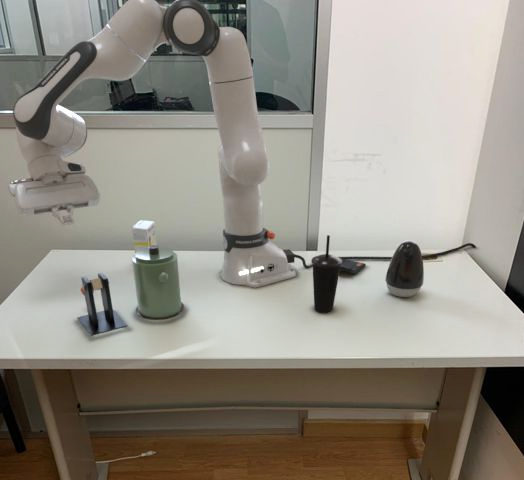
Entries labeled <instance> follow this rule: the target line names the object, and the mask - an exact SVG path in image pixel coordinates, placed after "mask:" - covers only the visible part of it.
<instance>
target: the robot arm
mask: <svg viewBox="0 0 524 480" xmlns="http://www.w3.org/2000/svg"><path fill="white" fill-rule="evenodd" d="M163 44H169V45H171V46H172V47H174V49H175V50H177V51H179V52H181V53H183V54H189V55H195V56H201V57H202V59H203V61H204V63H205V66H206V72H207V77H208V82H209V90H210V95H211V102H212V108H213V109H212V110H213V114H214V119H215V122H216V126H217V130H218V134H219V137H220V141H221V142H220V143H219V145H218V147H217V148H218V149H217V159H218V170H219V179H220V187H221V194H222V200H223V201H222V203H223V225H224V227H223V229H222V246H223V251H224V252H223V262H222V269H221V272H220V278H221V279H222V280H223V281H224V282H226V283H229V284H232V285H238V286H248V287H250V288H259V287H263V286H266V285H270V284H274V283H277V282H281V281H285V280H289V279H292V278H294V277H296V269H295V268H294V267H293V266H292V265H291V264H293V263H295V259H296V258H297V259H299V260H301V262H302V266H303V267H304V268H305V269H310V268H313V264H312V263H311V264H310V265H307V263H306V260H305V258H304V256H301V255H299V254H296V253H294V252H293V251H292V250H291V249H282V248H280V247H278V245H277V244H275V243H274V242H272V240H274V239H275V238H276V237H275V236H276V233H274V231H273V232H272V231H271V230H269V229H267V228H265V227H264V201H263V197H262V191H261V190H262V189H261V184H262V183H263V182H264V181H265V180H266V179H267V177H268V176H269V174H270V169H271V165H270V160H269V156H268V151H267V147H266V142H265V136H264V132H263V128H262V124H261V120H260V115H259V111H258V105H257V104H258V103H257V96H256V88H255V81H254V73H253V67H252V66H253V65H252V60H251V56H250V52H249V48H248V44H247V41H246V38H245V36H244V34H243V32H242V31H241V30H239V29H237V28H235V27H232V26H219V25H218V23H217V22H216V20H215V19H214V18H213V16H212V15H211V13H210V11H209V9H207V7H206V6H205V5H204V4H203V3H202V2H200V1H199V0H175V1H173V2H172V3H171V4H169V5H166V6H162V5H161V4H160V3H158V1H156V0H127V1H126V2H125V3H124V4H122V5H121V6H120V8H119V9H118V10H117V11H115V13H114V14H113V16H112V17H111V18H110V19H109V21H108V22H107V24H106V25H105V26H104V27H103V28H102V30H101V31H100V32H98V33H97V34H96V35H95V36H93V37H92V38H90V39H88V40H84V41H79V42H78V43H76V44H75V45H74V46H73V47H71V48H70V49H69V50H68V51H67V52H66V53H65V54H64V55H63V56H62V57H61V58H60V59H59V60H58V61H57V63H55V64H54V66H53V67H52V68H50V69H49V71H48V72H47V73H46V74H45V75H44V76H43V77H42V78H41V79H40V80H39V81H38V82H37V83H36V84H35V85H34V86H33V87H31V88H30V89H28V90H27V91H25V92H24V93H22V95H20V97H18V98H17V100H16V102H15V103H14V105H13V110H12V113H13V120H14V123H15V126H16V127H15V132H16V139H17V143H18V146H19V149H20V153H21V155H22V157H23V158H24V160H25V161H26V165H27V166H26V167H27V171H28V174H29V176H30V177H28V178H23V179H22V178H21V179H14V180H13V181H12V182H10V183H9V184H8V190H9V193H10V195H11V196H12V197H14V201H15V206H16V207H15V208H16V210H17V213H18V214H19V215H20V216H21V217H29V216H30V217H31V216H37V215H42V214H49V213H51V214H52V216H53V217H54V218H55V219H56V220H58V221H59V223H60V226H61V227H63V226H69V225H74V224H75V221H74V218H73V214H74V210H76V209H80V208H81V209H83V208H87V207H88V208H89V207H96V206H98V205H99V203H100V200H101V193H100V191H99V188H98V186H97V184H96V183H95V181H94V179H93V177H92V176H90V175H89V174H87V169H86V166H85V165H84V164H82V163H76V162H70V161H66V160H63V158H67V157H70V156H71V155H73V154H75V153H76V152H78V151H79V150H81V149H82V148H83V147H84V146H85V144H86V142H87V139H88V127H87V124H86V121H85V120H84V118H83V117H82V116H80V115H78V114H76V113H74V112H73V111H72V110H69V109H68V108H66V107H63V106H62V105H59V104H60V103H61V102H62V101H63V100H64V99H66V97H67V96H68V95H69V94H70V93H71V92H72V91H73V90H74V89H75V88H76V87H77V86H78V85H79V84H80V83H81V82H84V81H87V80H89V79H101V80H102V79H103V80H108V81H114V82H123V81H127V80H130V79H131V78H133V77H134V76H135V75H137V73H138V72H139V71H140V70H141V69H142V67H143V66H144V65H145V63H146V62H147V61H148V59H149V58H150V57H151V55H152V54H153V53H154V51H155V50H157V48H158V47H159V46H161V45H163ZM63 211H66V212H67V215H62V214H61V213H60V212H63ZM270 240H271V241H270ZM466 247H472V248H473V249H476V248H477V246H476V245H475V244H474V243H472V242H467V243H465V244H463V245H460V246H458V247H455V248H451V249H448V250H444V251H441V252H436V253H430V254H422V258H423V259H426V258H427V259H428V258H433V257H439V256H443V255H446V254H450V253H454V252H458V251H459V250H462V249H464V248H466ZM338 257H339V258H341V259H346V260H389V261H391V259H392V257H393V256H338Z"/></svg>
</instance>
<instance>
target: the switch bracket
mask: <svg viewBox="0 0 524 480" xmlns="http://www.w3.org/2000/svg"><path fill="white" fill-rule="evenodd" d="M97 276H98V277H97V279H98V278H100V280H101V283H102V287H103V288H102V289H100V294H101V300H102V307H103V310H100V311H97V308H96V303H95V297H94V293H93V291H92V285H91V282H90V279H89V278H88V277H87V276H85V275H84V276H81V287H82V288H83V290H84V295H85V296H84V295H83V296H84V299H85V304H86V310H87V314H85V315H81V316H76V317H77V320H78V321H79V322H80V324H81V325H82V326H83V327H84V329H85V330H86V331H87V333H88V335H90V337H92V336H95V335H100V334H104V333H108V332H112V331H114V330H118V329H122V328H125V327H128V324H127V323H126V322H125V321H124V320H123V319H122V317H120V315H119V314H118V313H117V312H116V311H115V310H114V309H113V304H112V296H111V291H110V282H109V279H108V277H107V276H106V275H105V274H104V273H103V272H98V273H97Z"/></svg>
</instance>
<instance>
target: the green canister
mask: <svg viewBox="0 0 524 480" xmlns="http://www.w3.org/2000/svg"><path fill="white" fill-rule="evenodd" d="M178 260H179V259H178V254H177V252H174V251H173V250H172V249H171V248H170V247H164V246H158V244H156V245H152V246H149V248H144V249H141V250H139V251H137V252H136V253H135V252H134V254H133V256H132V257H131V262H132V271H133V280H134V287H135V293H136V302H137V306H136V309H135V314H136V315H137V316H138V317H140V318H142V319H145V320H151V321H163V320H168V319H172V318H175V317H177V316H179V315H181V314H182V313H183V312H184V311H185V305H184V303H183V302H182V298H181V297H182V296H181V284H180V283H181V282H180V272H179V262H178Z"/></svg>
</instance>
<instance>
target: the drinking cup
mask: <svg viewBox="0 0 524 480" xmlns="http://www.w3.org/2000/svg"><path fill="white" fill-rule="evenodd" d="M330 238H331V235H330V234H329V235H326V245H325V253H323V254H319V255H315V256H313V257H312V258H311V260H310V261H311V265H312V264H313V266H312V280H313V281H312V282H313V283H312V286H313V307H314V308H313V309H314V311H315V312H317V313H319V314H329V313H332V312H333V311H334V305H335V300H336V299H335V298H336V293H337V287H338V282H339V276H340V272H341V271H340V266H341V264H342V260H341V259H340V258H339V257H340V256H336V255H335V254H334V255H333V254H330V253H329V252H330Z"/></svg>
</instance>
